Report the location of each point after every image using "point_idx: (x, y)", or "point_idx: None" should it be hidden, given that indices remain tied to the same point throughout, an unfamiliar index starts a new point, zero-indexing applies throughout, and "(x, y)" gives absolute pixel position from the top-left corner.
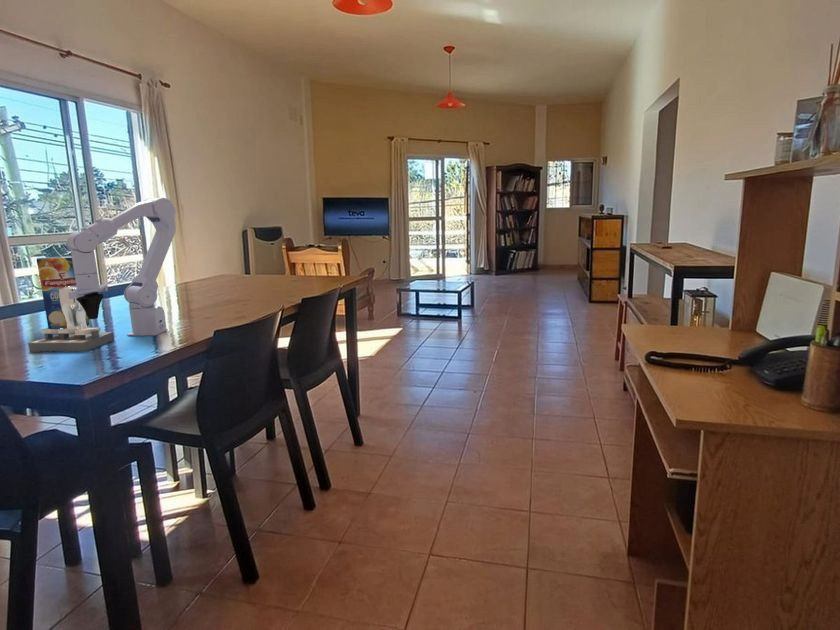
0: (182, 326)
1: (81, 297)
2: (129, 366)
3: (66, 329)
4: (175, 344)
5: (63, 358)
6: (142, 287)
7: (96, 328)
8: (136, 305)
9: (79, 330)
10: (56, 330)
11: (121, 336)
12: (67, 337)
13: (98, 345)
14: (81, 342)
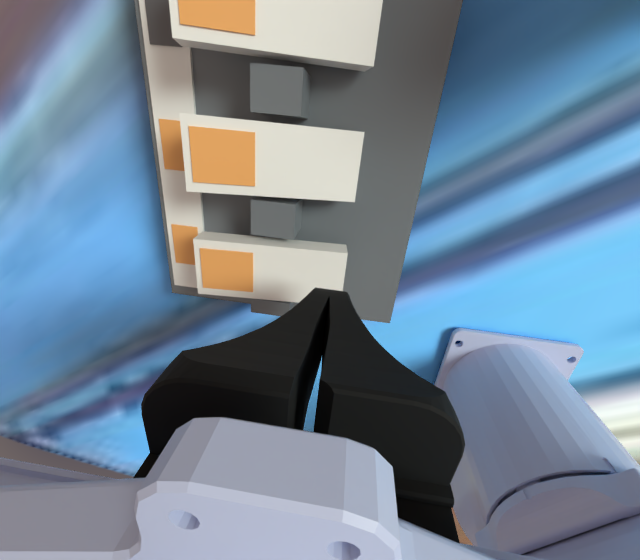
0: None
1: (157, 451)
2: (69, 450)
3: (186, 183)
4: None
5: (90, 242)
6: None
7: None
8: (498, 539)
9: (203, 263)
10: (244, 48)
11: (460, 303)
12: (284, 122)
13: None
14: (174, 276)
